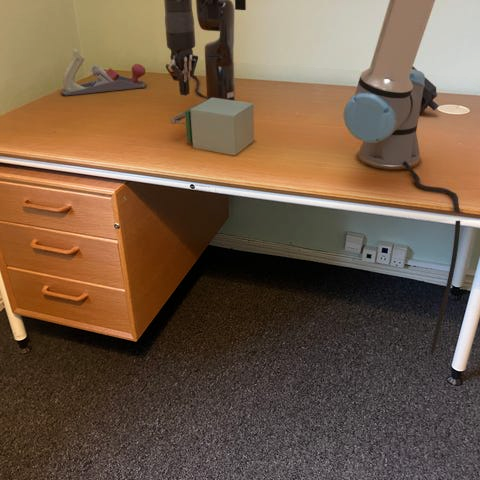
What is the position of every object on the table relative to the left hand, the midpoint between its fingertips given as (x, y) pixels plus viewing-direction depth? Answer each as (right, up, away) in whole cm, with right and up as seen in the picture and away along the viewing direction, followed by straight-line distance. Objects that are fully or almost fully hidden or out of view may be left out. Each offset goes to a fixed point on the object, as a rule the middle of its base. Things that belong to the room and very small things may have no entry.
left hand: (184, 94), depth 148 cm
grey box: (+11, -14, +2) cm, 17 cm away
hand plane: (-35, +16, +50) cm, 63 cm away
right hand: (+12, +15, -17) cm, 26 cm away
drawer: (+6, -11, +4) cm, 13 cm away
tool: (+69, +1, +24) cm, 73 cm away
